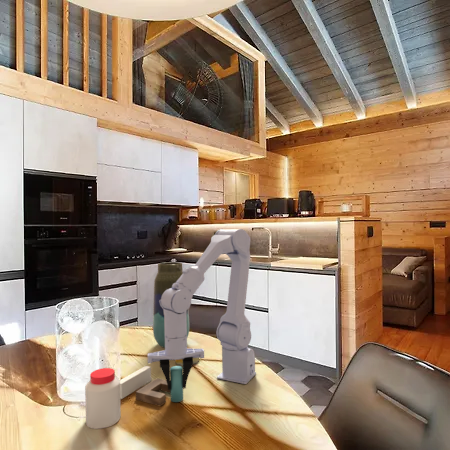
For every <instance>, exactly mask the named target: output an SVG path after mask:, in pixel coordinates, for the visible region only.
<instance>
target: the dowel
mask: <svg viewBox="0 0 450 450" xmlns="http://www.w3.org/2000/svg"><path fill="white" fill-rule="evenodd" d="M170 383H171V393H170V401H171V402H173V403H179V402H180V403H181V402H183V400H184V388H183V366H182V365H175V366H170Z"/></svg>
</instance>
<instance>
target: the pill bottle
mask: <svg viewBox="0 0 450 450" xmlns="http://www.w3.org/2000/svg"><path fill="white" fill-rule="evenodd" d="M115 373H116V370H115V369H114V368H111V367H110V368H109V367H105V368H104V367H103V368H99V369H96V370H93V371H92V372H90V374H89V379H90V380H89V381H88V382H87V383H86V384H85V387H84V391H85V392H84V395H85V425H86V426H87V427H88V428H90V429H96V430H97V429H98V430H100V429H105V428H108V427H111V426H113V425H115V424H116V423H117V422H119V421H120V419H121V411H122V410H121V399H120V380H121V379H119V378H118V377H117V376H116V374H115Z"/></svg>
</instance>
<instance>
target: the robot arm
mask: <svg viewBox="0 0 450 450" xmlns="http://www.w3.org/2000/svg"><path fill="white" fill-rule="evenodd" d="M210 239H211V240H210V243H209V245H208V246H207V247H206V249H205V250H204V252H203V253H202V255H200V257H199V258H198V260H197V262H196V263H195V265H193V266H188V267H187V268H184V269H183V274H182V275H181V277H180V278H179V279H178V280H177V281H176V283H174V284H173V285H172V288H170V289H167V290H166V291H165V292H164V293H163V295H162V297H161V300H159V302H160V305H161V307H162V308H163V310H164V324H165V348H164V350H159V351H154V352H148V353H147V364H152V363H154V362H155V363H157V362H159V367H160V369H161V372H162V373H163V377H164V378H165V380H166V381H167V385H168V390H171V383H170V368H171V366H170V365H171V364H170V361H175V360H179V359H182V360H183V365H182V368H183V389H186V388H187V382H188V378H189V374H190V372H191V370H192V367H193V366H194V364H193V358H199V359H205V350H204V348H191V347H189V348H187V347H188V338H187V322H186V310H187V309H190V308H191V304H192V299H193V295H195V293H196V292H197V291H198V289H199V288H200V286H201V285H202V284H203V282H204V281H205V273H206V272H208V270H209V269H210V267H212V266H213V264H214V263H215V262H216V261H217V259H218V258H219V257H220V256H222V255H223V254H225V255H227V256H228V258H229V259H230V260H231V266H230V277H229V285H228V295H227V303H226V312H225V313H224V314H223V315H222V316H220V320H219V324H218V326H217V328H216V338H217V340H218V341H219V342H220V345H221V358H222V359H221V365H222V366H221V367H222V370H221V371H222V372H220V373H219V374H218V375H217V376H216V378H217V380H218V379H219V380H224V381H228V382H233V383H238V384H243V385H247V384H248V383H249V382H250V381H251V380H252V378H254V376H255V375H257V371H256V356H255V355H256V353H255V350H254V349H252V348H250V347H248V346H249V345H250V343H251V340H252V331H251V322H250V320H249V319H248V318H247V316H246V315H245V312H246V311H245V310H246V301H247V291H248V282H249V271H250V264H251V253H250V249H251V248H250V247H251V240H252V239H251V236H250V235H249V233H248V232H247V230H245V229H243V228H238V229H223V228H221V229H218V230H217V231H216V232H215V233H214V235H212V236H211V238H210Z"/></svg>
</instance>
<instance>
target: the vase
mask: <svg viewBox="0 0 450 450" xmlns="http://www.w3.org/2000/svg"><path fill="white" fill-rule="evenodd" d="M183 270H184V269H183V263H182V262H179V261H169V262H160V263H158V264H157V273H156V276H155V278H154V282H153V305H152V333H153V338H154V341H155V342H156V343H157V345H158V346H160V347H162V348H164V349H165V324H164V310H163V308H162V307H161V305H160V302H159V300H161V297H162V295H163V293H164V292H165V291H166V290H167V289H170V288H172V285H173V284H174V283H176V281H177V280H178V279H179V278H180V277H181V275H182V274H183ZM189 310H190V308H188V309H187V310H186V322H187V339H188V338H189V335H190V316H189V315H190V312H189Z"/></svg>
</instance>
